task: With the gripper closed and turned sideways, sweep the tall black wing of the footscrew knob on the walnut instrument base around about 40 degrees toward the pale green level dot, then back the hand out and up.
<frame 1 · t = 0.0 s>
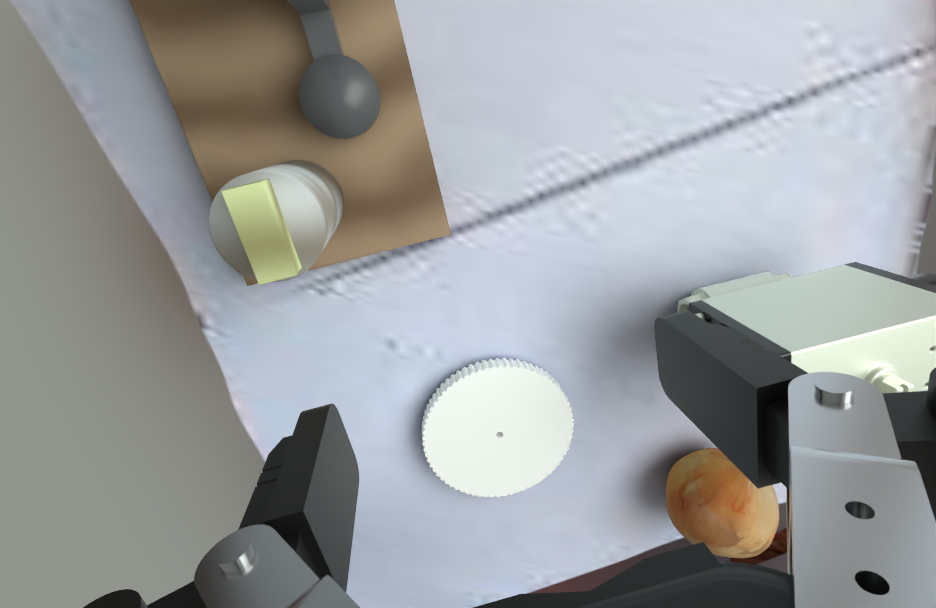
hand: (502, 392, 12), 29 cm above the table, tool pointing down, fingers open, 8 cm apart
instrument base: (301, 96, 36), on the table
plastic lid: (494, 418, 47), on the table
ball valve: (720, 302, 46), on the table
onion: (691, 467, 52), on the table
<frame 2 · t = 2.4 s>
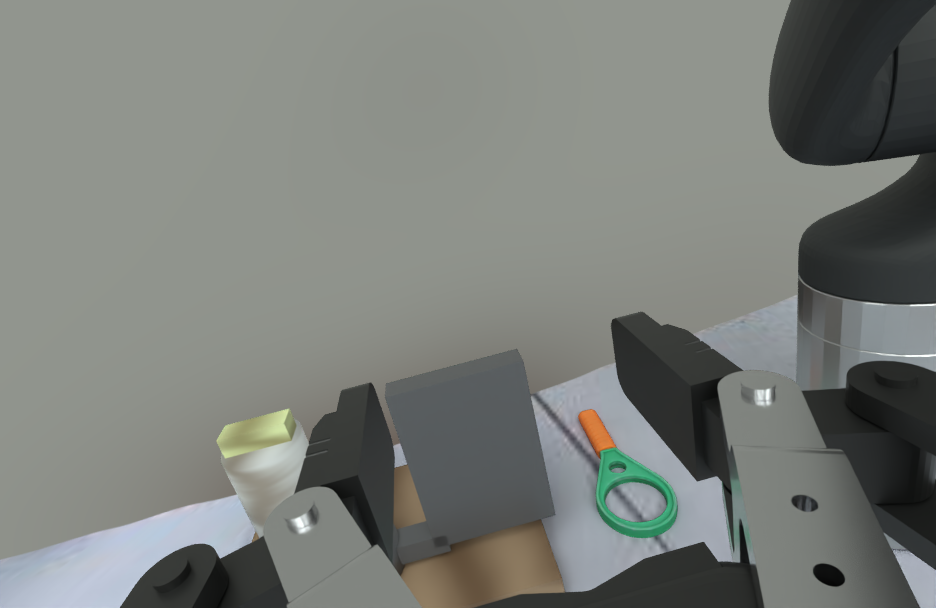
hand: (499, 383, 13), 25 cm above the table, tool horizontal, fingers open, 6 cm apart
magnifying glass: (616, 474, 44), on the table
instrument base: (394, 552, 40), on the table
wing knob: (424, 472, 34), point 9 cm above the table, hinge at 0.0°
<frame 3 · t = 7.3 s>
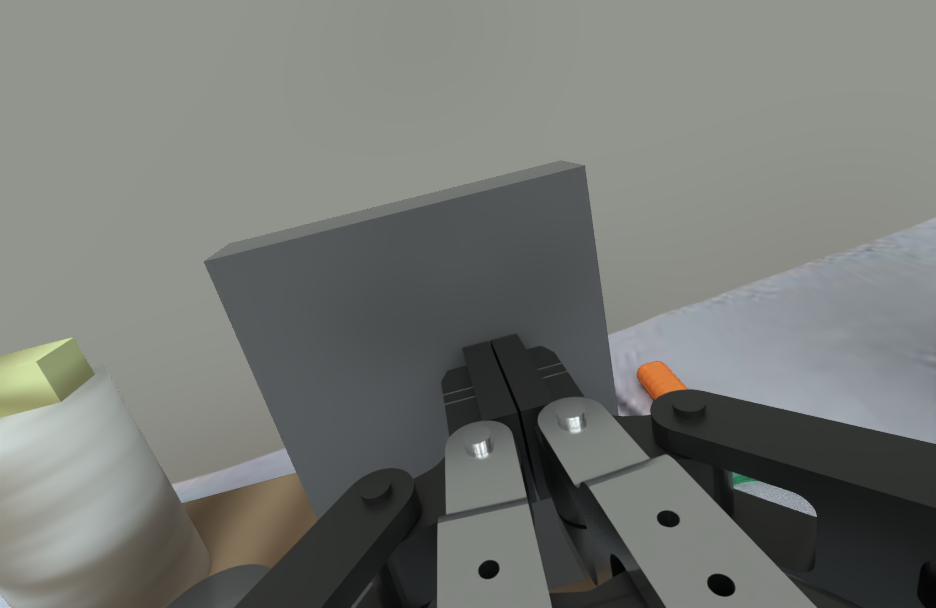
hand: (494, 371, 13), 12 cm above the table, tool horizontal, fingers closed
magnifying glass: (719, 466, 24), on the table
wing knob: (338, 470, 15), point 9 cm above the table, hinge at 0.8°, touching gripper
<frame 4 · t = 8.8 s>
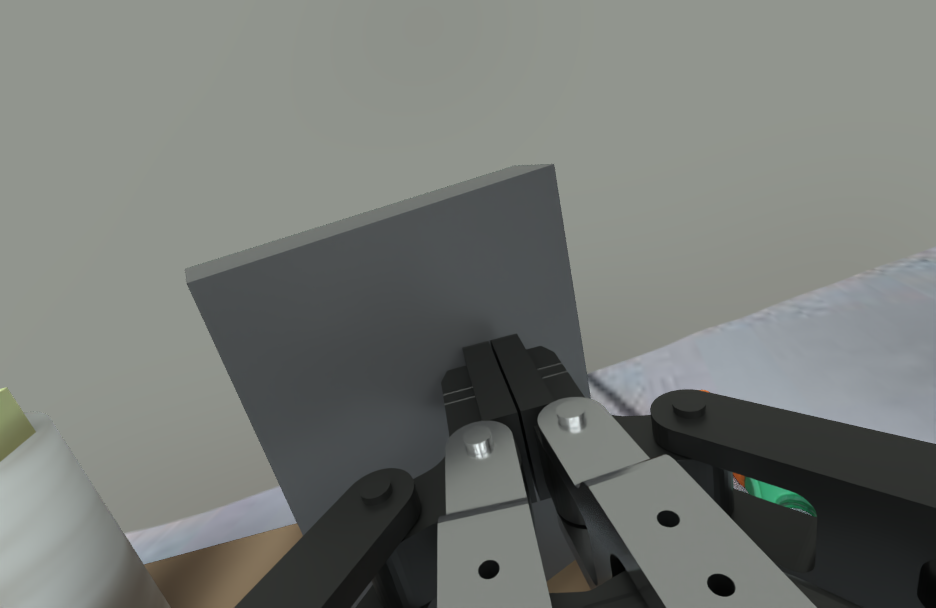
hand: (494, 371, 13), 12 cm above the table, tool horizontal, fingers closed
magnifying glass: (786, 521, 21), on the table
wing knob: (331, 515, 13), point 9 cm above the table, hinge at 23.7°, touching gripper
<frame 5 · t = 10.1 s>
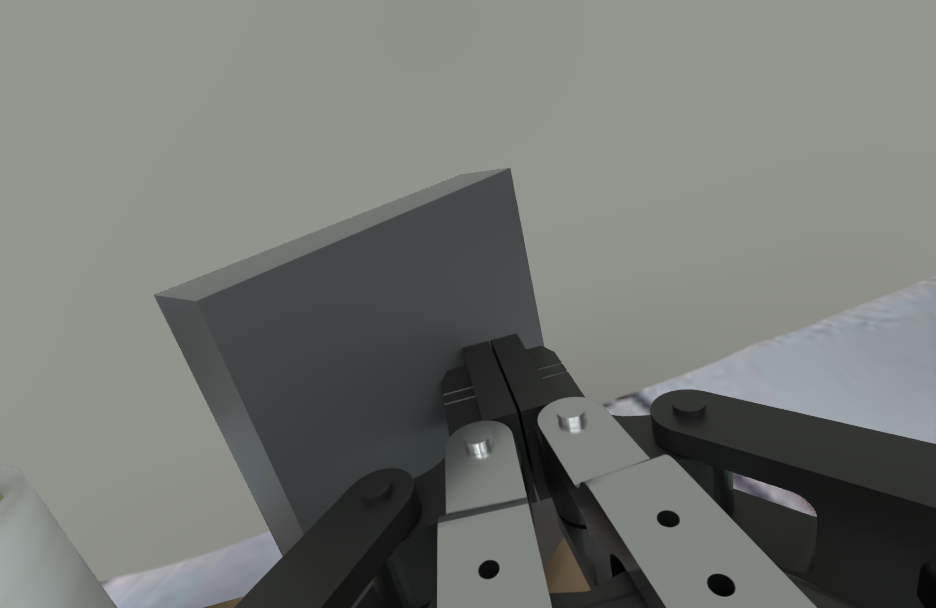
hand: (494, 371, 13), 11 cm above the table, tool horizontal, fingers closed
wing knob: (340, 564, 11), point 9 cm above the table, hinge at 44.9°, touching gripper
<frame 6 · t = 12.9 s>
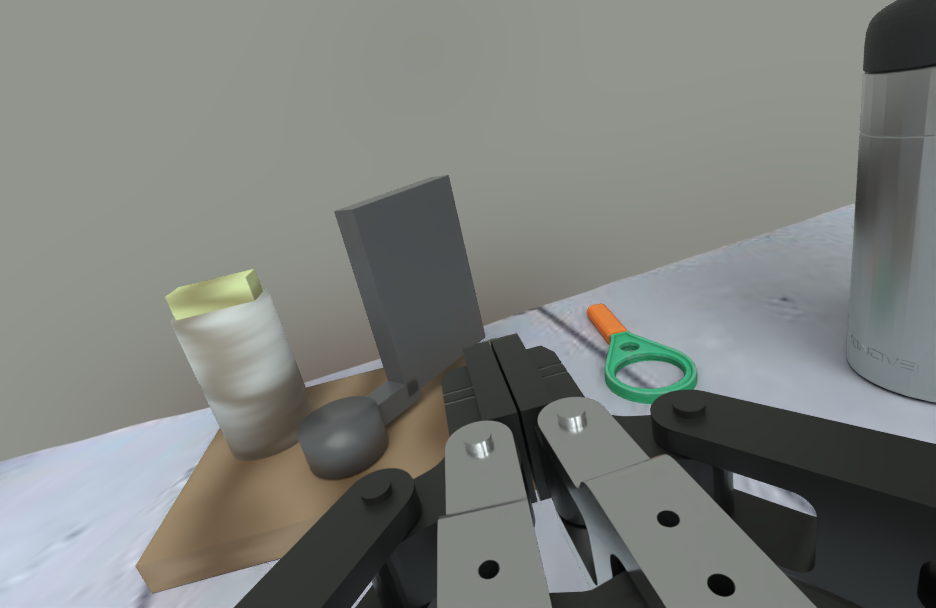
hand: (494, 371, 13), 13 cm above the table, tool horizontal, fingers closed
magnifying glass: (628, 358, 39), on the table
instrument base: (377, 446, 35), on the table
wing knob: (384, 311, 32), point 9 cm above the table, hinge at 45.0°
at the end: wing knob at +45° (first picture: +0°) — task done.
